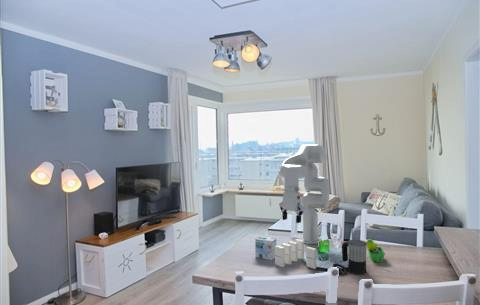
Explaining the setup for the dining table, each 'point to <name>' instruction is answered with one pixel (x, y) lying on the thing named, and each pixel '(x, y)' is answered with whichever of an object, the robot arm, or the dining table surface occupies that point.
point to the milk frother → (353, 257)
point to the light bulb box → (265, 247)
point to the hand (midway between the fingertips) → (291, 221)
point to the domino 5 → (311, 257)
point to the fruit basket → (375, 251)
